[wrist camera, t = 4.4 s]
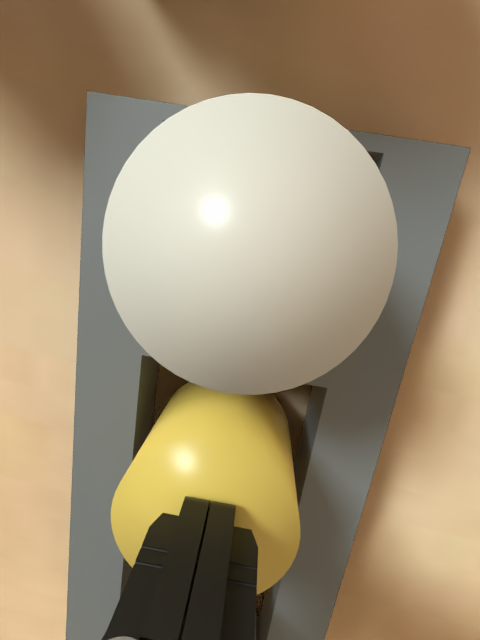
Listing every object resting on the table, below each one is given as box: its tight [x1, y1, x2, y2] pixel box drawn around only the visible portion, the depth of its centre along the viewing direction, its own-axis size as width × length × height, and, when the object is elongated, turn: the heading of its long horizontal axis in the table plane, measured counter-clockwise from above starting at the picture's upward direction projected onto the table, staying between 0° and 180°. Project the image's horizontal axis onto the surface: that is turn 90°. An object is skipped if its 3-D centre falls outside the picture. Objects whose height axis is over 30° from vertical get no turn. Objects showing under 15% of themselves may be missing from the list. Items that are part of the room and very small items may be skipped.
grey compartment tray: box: [66, 91, 471, 640], centre depth 15 cm, size 24×12×2 cm, turn 171°
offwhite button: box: [102, 93, 398, 395], centre depth 9 cm, size 6×6×5 cm
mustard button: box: [111, 382, 300, 595], centre depth 12 cm, size 6×6×5 cm
